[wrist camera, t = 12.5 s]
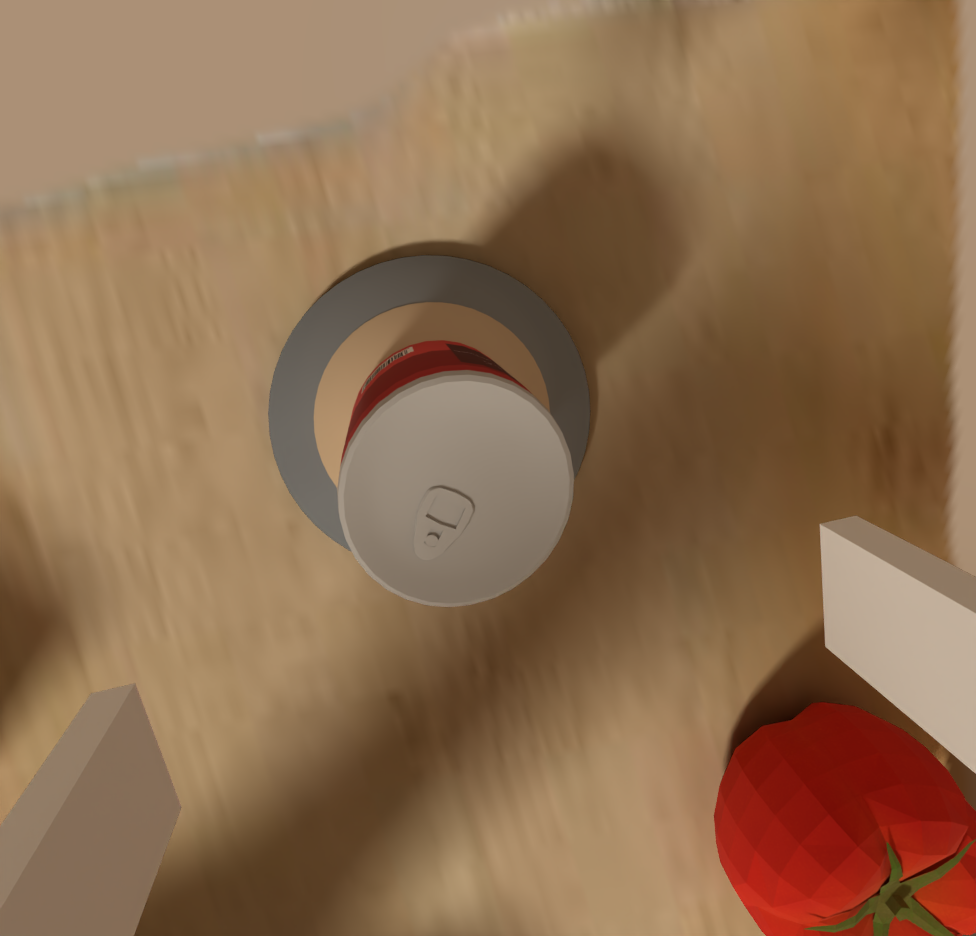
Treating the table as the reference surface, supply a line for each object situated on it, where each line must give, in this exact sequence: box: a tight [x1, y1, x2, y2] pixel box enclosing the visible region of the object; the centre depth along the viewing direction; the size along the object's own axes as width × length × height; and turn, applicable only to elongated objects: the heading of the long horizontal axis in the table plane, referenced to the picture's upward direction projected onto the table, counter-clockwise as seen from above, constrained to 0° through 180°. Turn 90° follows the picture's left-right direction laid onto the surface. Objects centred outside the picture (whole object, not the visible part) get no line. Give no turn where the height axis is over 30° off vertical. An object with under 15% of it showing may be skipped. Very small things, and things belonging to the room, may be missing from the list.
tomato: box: [714, 702, 976, 936], centre depth 38 cm, size 14×13×10 cm
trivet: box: [268, 255, 590, 552], centre depth 33 cm, size 15×15×1 cm
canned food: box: [337, 340, 574, 607], centre depth 28 cm, size 8×8×11 cm
